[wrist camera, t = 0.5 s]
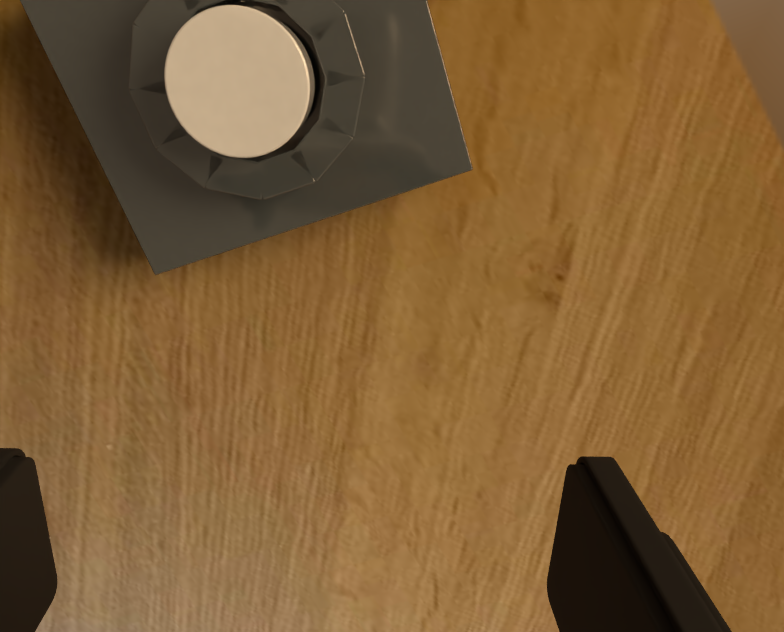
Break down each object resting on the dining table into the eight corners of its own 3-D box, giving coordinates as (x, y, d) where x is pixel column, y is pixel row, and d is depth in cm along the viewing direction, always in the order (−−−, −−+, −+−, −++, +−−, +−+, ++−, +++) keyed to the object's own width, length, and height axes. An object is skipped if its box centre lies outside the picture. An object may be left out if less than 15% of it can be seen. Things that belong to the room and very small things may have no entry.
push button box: (55, -10, 22) (-25, -28, 18) (380, -132, 21) (385, -184, 17) (178, 251, 26) (138, 292, 21) (460, 156, 25) (481, 179, 21)
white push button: (160, 36, 19) (137, 33, 17) (286, -10, 19) (277, -18, 17) (215, 166, 20) (200, 177, 19) (333, 125, 20) (330, 132, 18)
